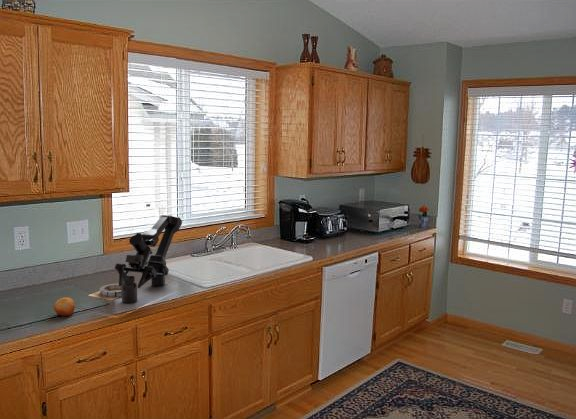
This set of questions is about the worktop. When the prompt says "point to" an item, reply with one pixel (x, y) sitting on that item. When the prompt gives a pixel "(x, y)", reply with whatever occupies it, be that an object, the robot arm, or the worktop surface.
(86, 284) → the worktop surface
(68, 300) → the fruit
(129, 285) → the supplement bottle
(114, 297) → the oak board
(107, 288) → the steel ring
